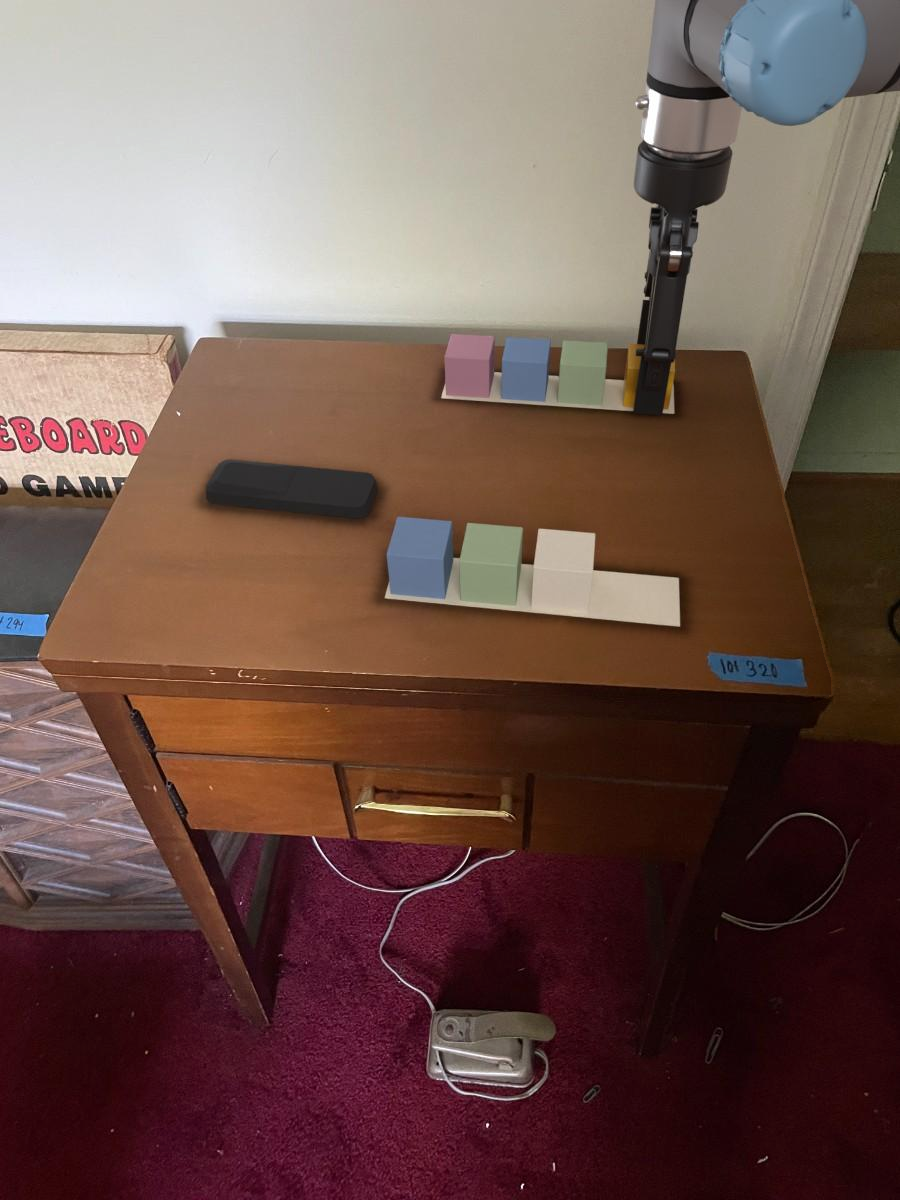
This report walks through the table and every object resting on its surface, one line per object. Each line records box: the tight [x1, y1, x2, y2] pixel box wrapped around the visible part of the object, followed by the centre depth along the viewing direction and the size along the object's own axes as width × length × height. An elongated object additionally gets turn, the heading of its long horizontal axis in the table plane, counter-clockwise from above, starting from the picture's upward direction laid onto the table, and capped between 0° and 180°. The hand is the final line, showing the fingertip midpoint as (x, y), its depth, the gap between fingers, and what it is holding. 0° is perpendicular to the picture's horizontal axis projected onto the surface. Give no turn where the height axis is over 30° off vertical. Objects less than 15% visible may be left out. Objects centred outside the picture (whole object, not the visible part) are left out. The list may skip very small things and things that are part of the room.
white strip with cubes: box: [384, 516, 681, 627], centre depth 70 cm, size 23×5×4 cm, turn 81°
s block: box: [623, 343, 676, 409], centre depth 88 cm, size 4×4×4 cm
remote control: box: [205, 458, 379, 520], centre depth 80 cm, size 5×2×15 cm
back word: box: [440, 333, 675, 415], centre depth 89 cm, size 23×5×4 cm, turn 81°
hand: (647, 385), depth 88 cm, fingers open, 8 cm apart
